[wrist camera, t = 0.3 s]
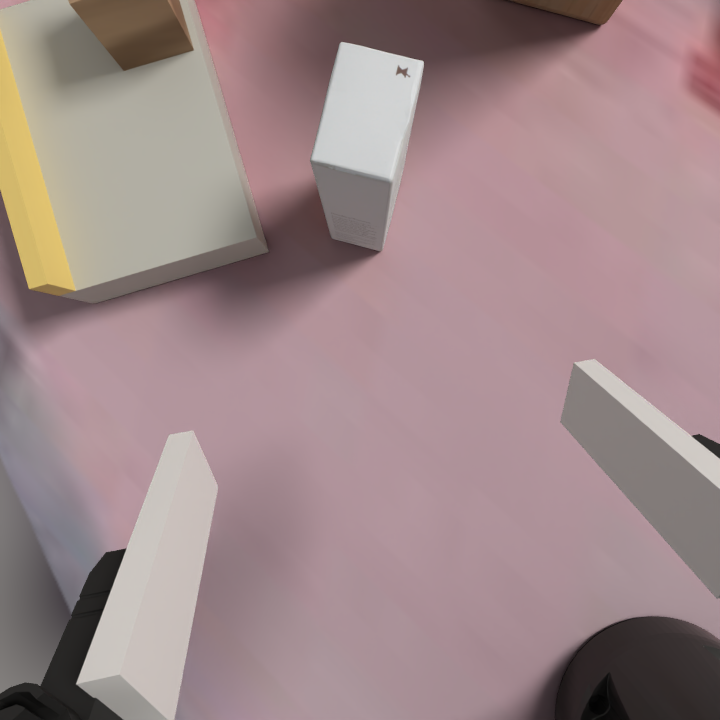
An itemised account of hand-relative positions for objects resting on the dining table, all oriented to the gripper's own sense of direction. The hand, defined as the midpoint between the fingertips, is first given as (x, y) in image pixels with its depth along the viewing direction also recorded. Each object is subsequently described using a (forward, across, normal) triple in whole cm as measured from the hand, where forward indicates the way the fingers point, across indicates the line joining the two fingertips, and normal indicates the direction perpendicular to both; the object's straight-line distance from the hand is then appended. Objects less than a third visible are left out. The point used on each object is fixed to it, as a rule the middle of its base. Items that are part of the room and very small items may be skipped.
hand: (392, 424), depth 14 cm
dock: (+26, +13, -8) cm, 30 cm away
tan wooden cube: (+26, +10, -16) cm, 32 cm away
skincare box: (+21, -3, -3) cm, 22 cm away
